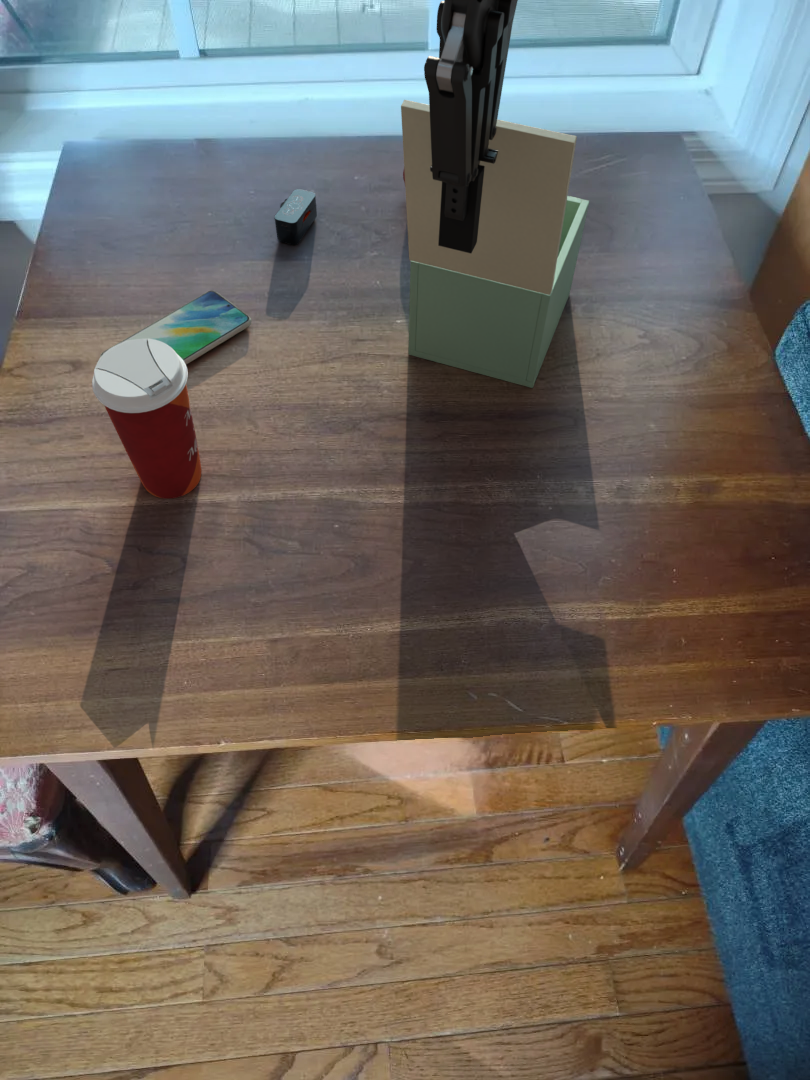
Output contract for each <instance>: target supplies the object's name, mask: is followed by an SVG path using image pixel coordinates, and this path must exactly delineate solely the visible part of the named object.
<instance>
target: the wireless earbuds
mask: <svg viewBox="0 0 810 1080" xmlns="http://www.w3.org/2000/svg"><path fill="white" fill-rule="evenodd" d="M279 207H280V208H279V210H278V211H277V212H276V213H275V215H274V224H275V225H274V226H275V234H276V238H277V240H278V242H281V243H283V244H287V245H292V246H297V245H298V244H299V243H300V241H302V239H303V237H304V236H305V234H306V233H307V232H308V230H309V229H310V228H311V226H312V225H313V223H314V221H315V220H316V219H317V218H318V217H317V216H318V211H317V197H316V193H315V192H313V191H310V190H306V189H302V188H296V189H294V190H292V192H291V193H290V194H289V196H288V197H287V198H286V199H284V201H282V202H281V203H280V206H279Z"/></svg>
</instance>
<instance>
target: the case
mask: <svg viewBox="0 0 810 1080" xmlns="http://www.w3.org/2000/svg"><path fill="white" fill-rule="evenodd" d="M589 207H590V200H588V199H583V198H579V197H575V196H571V195H568V196H567V202H566V208H565V215H564V221H563V227H562V233H561V239H560V246H559V252H558V258H557V264H556V270H555V276H554V283H553V289H552V292H551V294H550V295H547V294H543V293H539V292H535V291H531V290H527V289H523V288H519V287H515V286H511V285H507V284H503V283H499V282H495V281H491V280H487V279H483V278H479V277H475V276H471V275H467V274H463V273H459V272H455V271H451V270H447V269H443V268H439V267H435V266H431V265H427V264H423V263H419V262H415V261H411V260H410V264H409V265H410V267H409V268H410V269H409V305H408V306H409V309H408V339H407V340H408V345H407V346H408V347H407V355H408V356H412V357H416V358H420V359H424V360H426V361H427V360H428V361H431V362H434V363H438V364H442V365H446V366H449V367H452V368H453V367H454V368H457V369H460V370H463V371H468V372H471V373H475V374H479V375H483V376H485V377H486V376H487V377H490V378H494V379H498V380H501V381H504V382H505V381H506V382H509V383H512V384H516V385H520V386H523V387H527V388H531V389H533V388H534V386H535V383H536V381H537V378H538V376H539V373H540V371H541V368H542V365H543V364H544V360H545V358H546V355H547V353H548V351H549V348H550V345H551V343H552V340H553V337H554V335H555V332H556V331H557V327H558V325H559V323H560V320H561V317H562V314H563V312H564V310H565V307H566V305H567V302H568V300H569V297H570V294H571V289H572V284H573V279H574V275H575V271H576V266H577V261H578V258H579V253H580V248H581V243H582V238H583V233H584V229H585V226H586V225H585V224H586V221H587V215H588V211H589Z"/></svg>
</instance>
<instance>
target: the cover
mask: <svg viewBox="0 0 810 1080" xmlns="http://www.w3.org/2000/svg"><path fill="white" fill-rule="evenodd" d="M400 115H401V134H402V151H403V153H402V154H403V170H404V172H405V183H404V187H405V188H404V189H405V190H404V191H405V205H406V206H405V207H406V223H407V243H408V260H409V261H410V262H411V261H415V262H419V263H423V264H427V265H431V266H435V267H439V268H443V269H447V270H451V271H455V272H459V273H463V274H467V275H471V276H475V277H479V278H483V279H487V280H491V281H495V282H499V283H503V284H507V285H511V286H515V287H519V288H523V289H527V290H531V291H535V292H539V293H543V294H547V295H550V294H551V292H552V289H553V283H554V276H555V270H556V264H557V258H558V252H559V246H560V239H561V233H562V227H563V221H564V215H565V208H566V202H567V196H569V190H570V184H571V176H572V170H573V165H574V158H575V154H576V153H575V152H576V146H577V139H578V137H577V135H573V134H567V133H563V132H558V131H554V130H549V129H545V128H540V127H535V126H531V125H527V124H521V123H517V122H511V121H507V120H501V119H498V118H497V124H496V128H497V130H496V134H495V136H494V138H493V139H492V140H489V145H488V148H489V149H493V150H498V154H497V158H496V161H495V163H494V164H493V163H488V162H484V161H480V165H482V166H485V168H484V178H483V187H482V197H481V207H480V217H479V227H478V236H477V243H476V245H475V247H474V249H473V251H472V253H467V252H463V251H458V250H454V249H450V248H446V247H442V246H438V242H439V225H440V208H441V191H442V181H438V180H433V176H432V172H431V171H430V167H431V166H432V154H431V131H430V108H429V104H428V103H424V102H423V103H422V102H417V101H413V100H409V99H403V101H402V103H401V105H400Z"/></svg>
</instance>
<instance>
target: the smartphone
mask: <svg viewBox="0 0 810 1080" xmlns="http://www.w3.org/2000/svg"><path fill="white" fill-rule="evenodd" d="M251 325H252V318H251V317H250V316H249V314H247V313H246V312H244V311H243V310H242V309H240V308H239V307H238V306H236V305H235V304H234V303H232V302H231V301H229V300H228V299H227V298H225V297H224V296H223V295H222V294H221V293H219V292H217V291H216V290H208V291H206V292H204V293H202V294H200V295H199V296H197V297H196V298H194V299H192V300H191V301H189V302H187V303H185V304H183V305H182V306H180V307H178V308H176V309H175V310H173V311H171V312H170V313H168V314H166V315H164V316H163V317H161V318H159V319H157V320H156V321H153V323H151V324H149V325H147V326H145V327H143V328H142V329H140V330H138V331H137V332H135V333H133V334H131V335H129V336H128V337H126V338H125V339H123V340H121V341H119V342H118V343H115V344H114V345H112V346H110V347H109V348H107V349H105V350H103V351H102V352H101V353H100V355H99V358H100V357H101V356H102V355H103V354H104V353H105V352H106V351H107V350H109V349H110V348H112V347H113V346H115V345H117V344H119V343H122V342H124V341H128V340H134V339H147V340H148V339H154V340H158V341H161V342H163V343H165V344H167V345H168V346H170V347H171V348H172V349H173V350H174V351H175V352H176V353H177V354H178V355H179V356H180V357H181V358H182V359H183V361H184V362H185V364H186V365H188V364H190V363H191V362H193V361H194V360H196V359H198V358H200V357H201V356H203V355H204V354H206V353H207V352H209V351H211V350H212V349H214V348H216V347H218V346H219V345H221V344H223V343H224V342H227V340H229V339H231V338H232V337H234V336H235V335H238V334H239V333H240V332H242V331H244V330H246V329H247V328H249V327H250V326H251Z"/></svg>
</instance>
